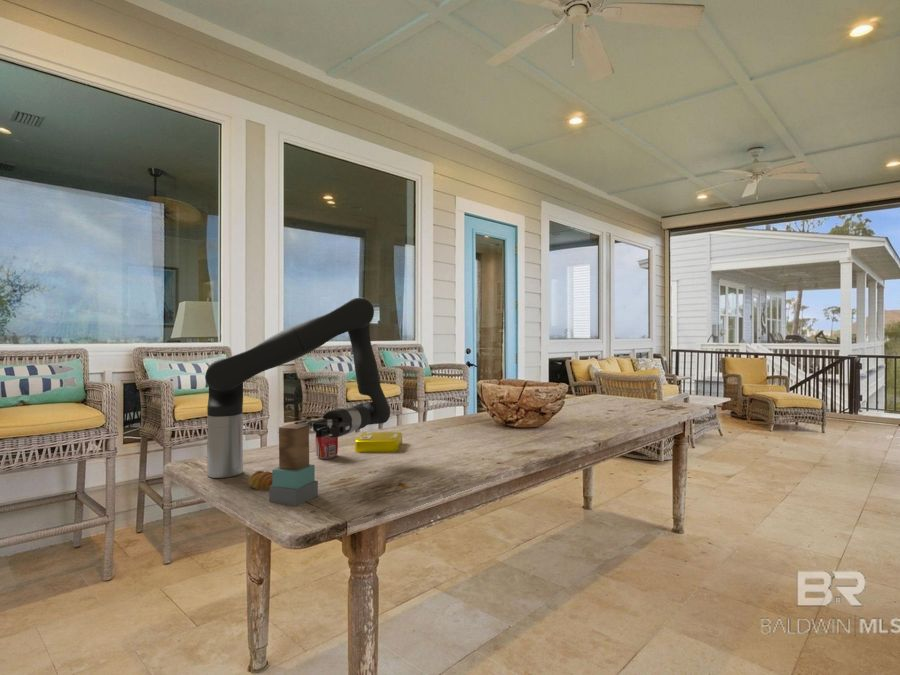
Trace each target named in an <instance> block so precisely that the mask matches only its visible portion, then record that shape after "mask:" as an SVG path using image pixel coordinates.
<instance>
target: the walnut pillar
mask: <svg viewBox="0 0 900 675" xmlns="http://www.w3.org/2000/svg"><path fill="white" fill-rule="evenodd" d="M278 461H279V462H278V465H279V469H286V470H296V471H297V470H299V469H301V468H304V467H306V466H308V465H309V464H310V434H309V425H304V424H294V423H290V424H286V425H282V426H279V427H278Z"/></svg>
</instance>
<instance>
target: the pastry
mask: <svg viewBox="0 0 900 675" xmlns="http://www.w3.org/2000/svg"><path fill="white" fill-rule="evenodd" d="M248 485H249V486H250V487H251V489H255V490H259V491H269V486H271V485H273V480H272V472H271V471H264V470H258V471H255V472H254V473H253V474H252V475H251V476H250V477H249V479H248Z"/></svg>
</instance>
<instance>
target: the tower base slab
mask: <svg viewBox="0 0 900 675" xmlns="http://www.w3.org/2000/svg"><path fill="white" fill-rule="evenodd" d="M318 486H319V480H315V481H313V482H311V483H309V484H307V485H305V486H303V487H301V488H299V489H290V488H282V487H274V486H273V485H271V486H269V490H268V491H269V493H268V494H269V497H268V498H269V499H268V500H269V502H270V503H277V504H281V505H287V506H293V507H296V506H299V505H302V504H303V503H305V502H308V501H309V500H311V499H315V498H316V497H318V496H319V487H318Z"/></svg>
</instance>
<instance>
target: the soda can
mask: <svg viewBox="0 0 900 675" xmlns="http://www.w3.org/2000/svg"><path fill="white" fill-rule="evenodd" d="M338 452H339V437H337V438H331V437H329V436H324V437H321V438H317V437H316V436H315V455H316V457H318V458H319V459H322V460H328V459H333V458H335V457H336V456H337V455H338Z"/></svg>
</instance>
